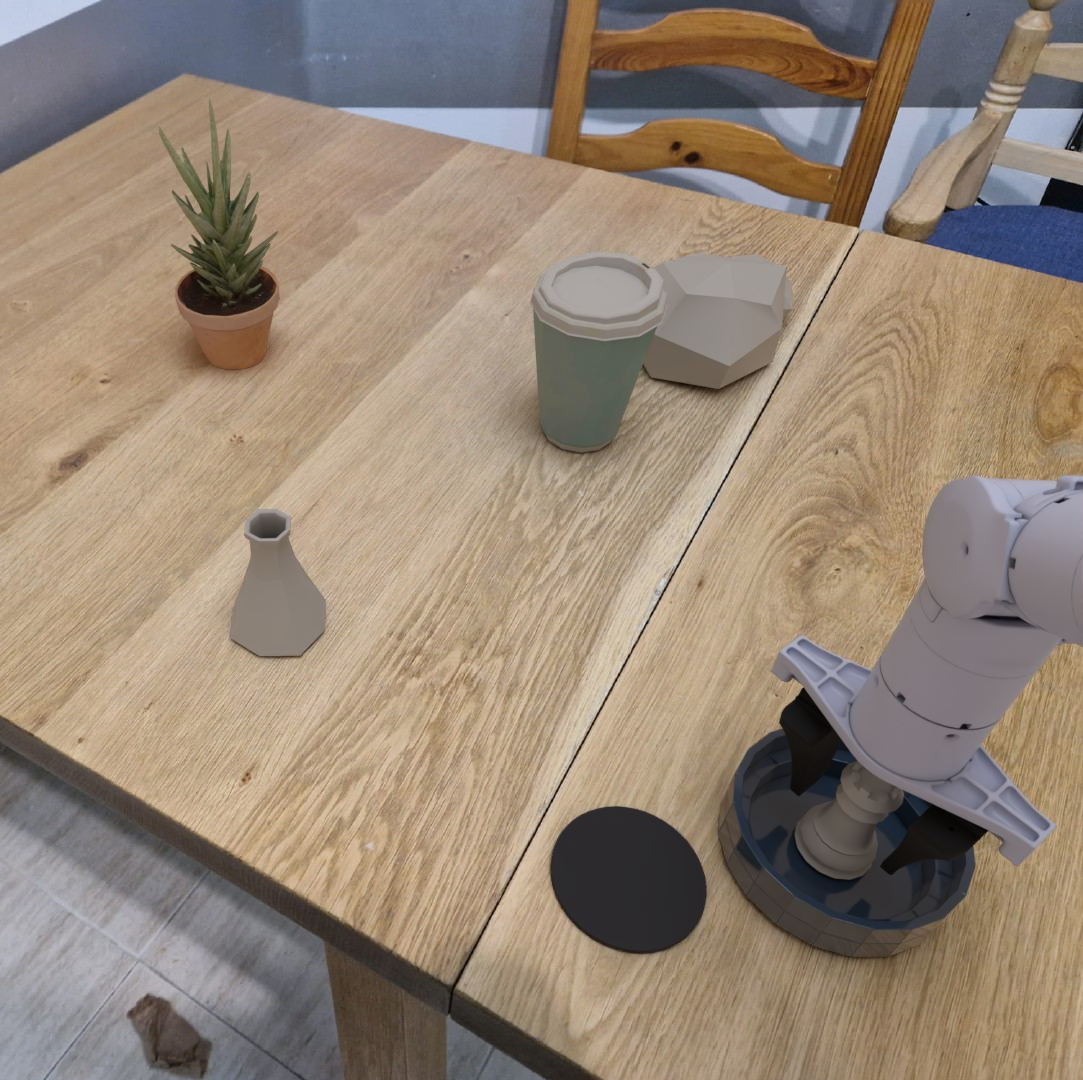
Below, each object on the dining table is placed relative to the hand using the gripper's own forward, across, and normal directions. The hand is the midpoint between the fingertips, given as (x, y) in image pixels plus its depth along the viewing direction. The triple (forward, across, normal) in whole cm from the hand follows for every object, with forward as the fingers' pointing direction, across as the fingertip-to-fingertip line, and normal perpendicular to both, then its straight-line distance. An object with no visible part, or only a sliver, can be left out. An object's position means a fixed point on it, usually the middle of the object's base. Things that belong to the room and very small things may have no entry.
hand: (848, 821), depth 58 cm
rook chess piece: (+3, 0, 0) cm, 3 cm away
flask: (+4, +35, +17) cm, 39 cm away
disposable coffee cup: (+4, +38, -16) cm, 41 cm away
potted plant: (+4, +66, +2) cm, 66 cm away
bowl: (+4, 0, 0) cm, 4 cm away
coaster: (+4, +6, +11) cm, 13 cm away
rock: (+4, +40, -36) cm, 54 cm away
